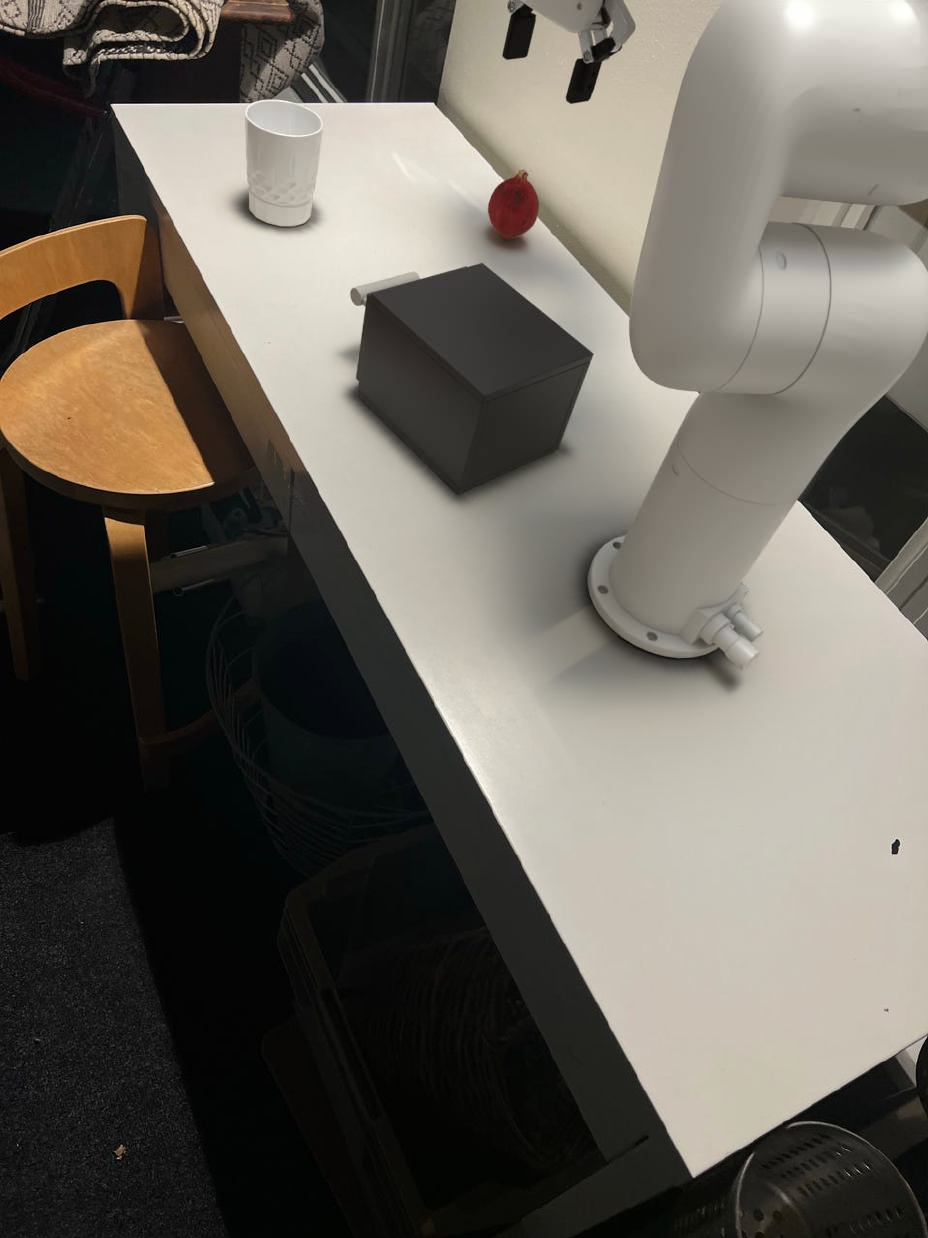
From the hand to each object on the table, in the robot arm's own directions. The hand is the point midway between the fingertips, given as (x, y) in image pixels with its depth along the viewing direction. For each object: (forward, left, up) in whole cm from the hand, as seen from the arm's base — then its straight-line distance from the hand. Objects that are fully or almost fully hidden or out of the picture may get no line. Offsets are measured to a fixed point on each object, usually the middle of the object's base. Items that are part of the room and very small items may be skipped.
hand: (545, 78), depth 93 cm
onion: (0, 0, -18) cm, 18 cm away
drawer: (-19, +27, -17) cm, 37 cm away
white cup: (+14, +22, -18) cm, 32 cm away
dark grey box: (-23, +27, -18) cm, 40 cm away
